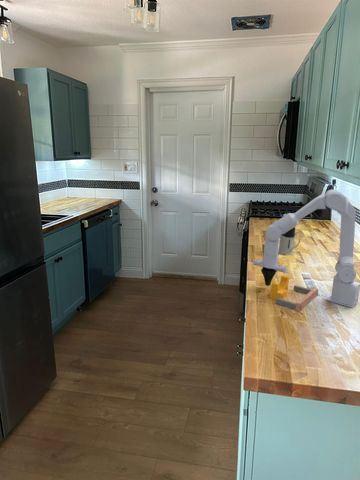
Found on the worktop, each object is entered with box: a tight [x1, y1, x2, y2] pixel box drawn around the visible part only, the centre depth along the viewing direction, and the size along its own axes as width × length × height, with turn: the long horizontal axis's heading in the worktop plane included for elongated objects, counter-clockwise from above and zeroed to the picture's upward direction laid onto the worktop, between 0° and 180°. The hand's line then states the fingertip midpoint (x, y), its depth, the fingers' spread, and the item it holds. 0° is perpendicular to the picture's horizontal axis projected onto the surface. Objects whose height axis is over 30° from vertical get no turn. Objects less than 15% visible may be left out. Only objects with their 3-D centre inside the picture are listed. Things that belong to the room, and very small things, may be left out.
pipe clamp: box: [270, 274, 290, 301], centre depth 137 cm, size 12×4×6 cm, turn 142°
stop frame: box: [275, 284, 319, 312], centre depth 134 cm, size 10×19×3 cm, turn 139°
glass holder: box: [278, 226, 302, 256], centre depth 191 cm, size 9×14×15 cm, turn 25°
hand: (267, 285), depth 141 cm, fingers closed
